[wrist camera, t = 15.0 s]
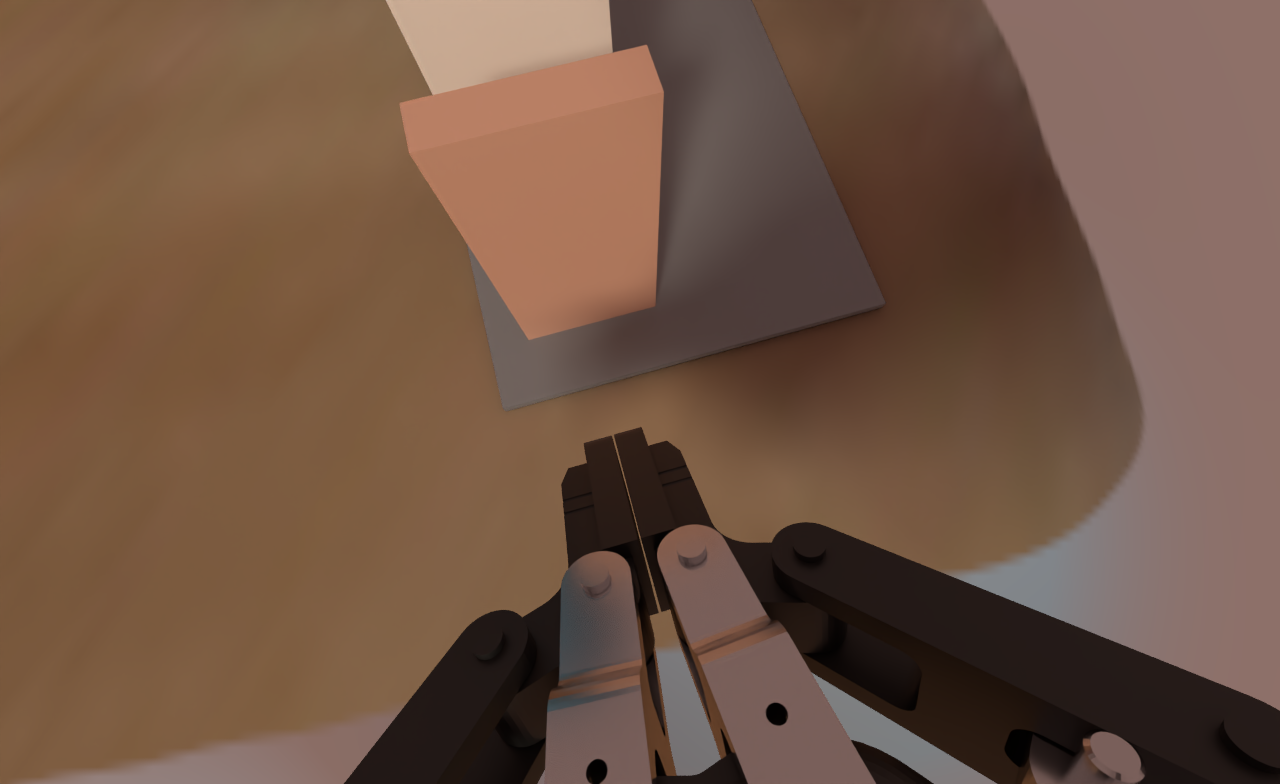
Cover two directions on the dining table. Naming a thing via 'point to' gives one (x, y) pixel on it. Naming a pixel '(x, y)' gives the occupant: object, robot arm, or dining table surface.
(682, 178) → the mat
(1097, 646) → the robot arm
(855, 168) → the dining table surface
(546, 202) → the terracotta tile
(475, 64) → the domino
